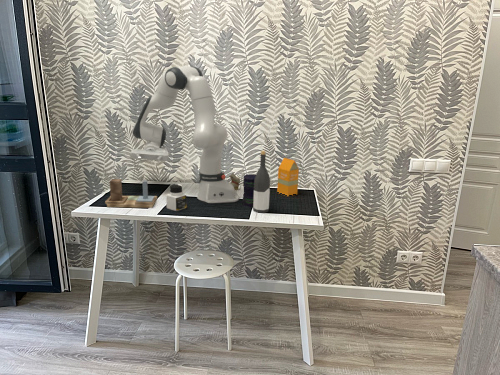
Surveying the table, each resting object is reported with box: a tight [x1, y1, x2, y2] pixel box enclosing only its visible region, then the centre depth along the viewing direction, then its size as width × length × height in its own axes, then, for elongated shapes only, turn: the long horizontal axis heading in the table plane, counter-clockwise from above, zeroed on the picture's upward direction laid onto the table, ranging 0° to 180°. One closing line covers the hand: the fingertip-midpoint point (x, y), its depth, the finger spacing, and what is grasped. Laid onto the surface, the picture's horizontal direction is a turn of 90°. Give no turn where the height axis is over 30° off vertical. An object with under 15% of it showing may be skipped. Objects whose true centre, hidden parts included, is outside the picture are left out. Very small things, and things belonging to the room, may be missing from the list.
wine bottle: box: [252, 150, 271, 214], centre depth 199 cm, size 8×8×30 cm
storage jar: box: [242, 173, 257, 208], centre depth 210 cm, size 10×10×15 cm
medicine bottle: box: [165, 183, 188, 212], centre depth 202 cm, size 7×7×12 cm
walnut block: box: [109, 178, 123, 201], centre depth 204 cm, size 4×4×11 cm
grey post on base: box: [136, 180, 155, 202], centre depth 205 cm, size 8×8×10 cm
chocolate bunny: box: [229, 172, 241, 191], centre depth 235 cm, size 6×8×10 cm
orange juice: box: [276, 157, 300, 197], centre depth 229 cm, size 8×9×20 cm
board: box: [104, 195, 158, 209], centre depth 208 cm, size 23×14×3 cm, turn 93°
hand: (148, 159), depth 214 cm, fingers open, 8 cm apart
